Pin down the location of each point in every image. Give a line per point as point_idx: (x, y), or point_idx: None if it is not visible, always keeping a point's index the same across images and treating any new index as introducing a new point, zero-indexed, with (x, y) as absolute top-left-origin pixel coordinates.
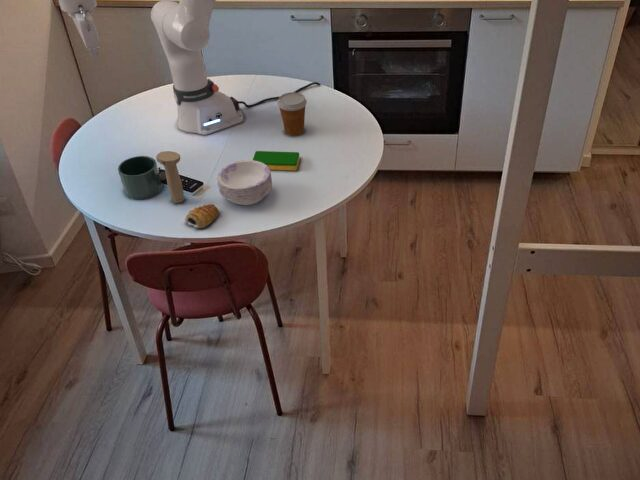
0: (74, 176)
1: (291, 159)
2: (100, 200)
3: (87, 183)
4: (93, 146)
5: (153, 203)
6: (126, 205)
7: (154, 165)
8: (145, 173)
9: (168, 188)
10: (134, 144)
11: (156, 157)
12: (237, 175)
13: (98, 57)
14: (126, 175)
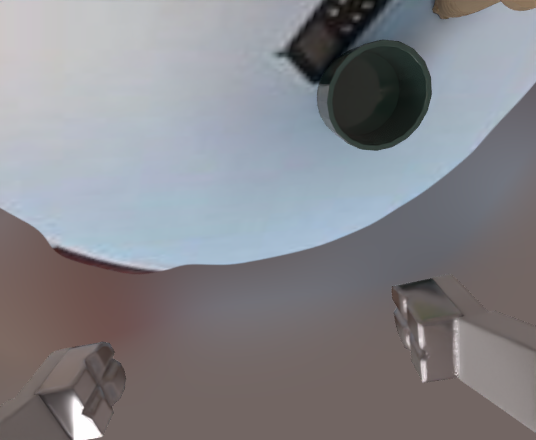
0: (263, 242)
1: None
2: (370, 188)
3: (297, 217)
4: (146, 215)
5: None
6: None
7: (395, 45)
8: (428, 73)
9: (467, 14)
10: (148, 121)
11: (533, 7)
12: None
13: (457, 288)
14: (416, 127)
